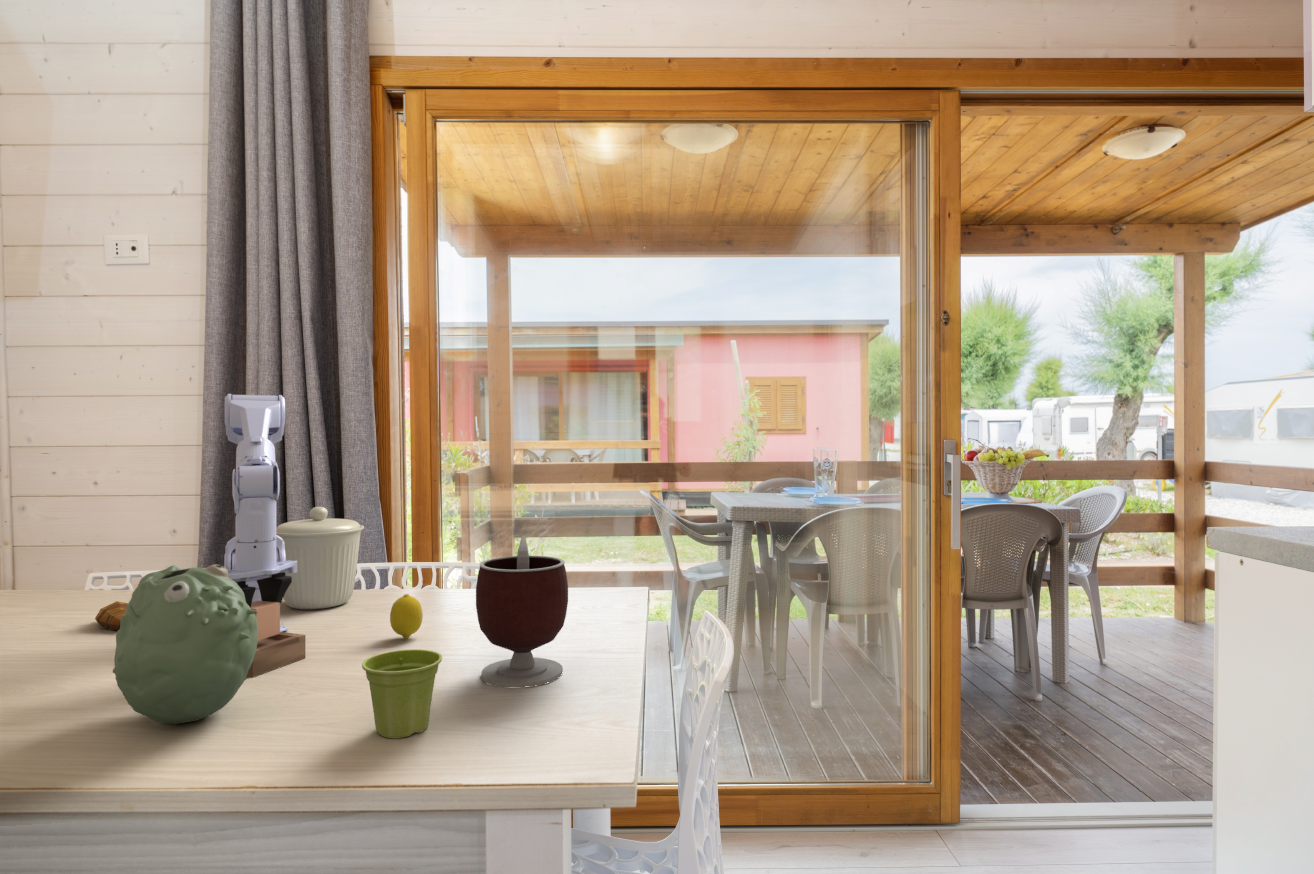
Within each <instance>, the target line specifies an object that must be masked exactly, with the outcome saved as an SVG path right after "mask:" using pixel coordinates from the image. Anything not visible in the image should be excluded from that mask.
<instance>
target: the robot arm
mask: <svg viewBox="0 0 1314 874" xmlns="http://www.w3.org/2000/svg"><path fill="white" fill-rule="evenodd" d="M285 424H286V399H285V397H284V396H283V395H282V394H278V395H263V394H262V395H259V394H258V395H257V394H232V393H227V395H226V396H224V426H225V435H226V436H227V441H229V442H230V443H232V444H233V443H234V444H235V445H237V446H236V450H235V451H236V452H235V456H236V457H235V468H233V470H232V485H231V486H232V490H231V491H232V493H231V495H232V499H233V502H234V514H236V515H235V535H234V536H233V537H232V538H231V539H229V540H228V541H227V543H226V545H225V546H224V547H225V550H224V551H225V553H224V558H223V559H224V563H223V564H224V565H223V567H225V568H226V569H227V571H228V577H229V578H230V579H231V580H233V581H235V582H236V583H237V584H238V586H239V587H240V588H241V589H242V591H243V592H244V595H245V600H246V603H247V604H248V605H249V607H250V608H251V604H252V602H255V601H268V602H278V603H280V606H281V604H282V601H283V600H284V598H283V597H284V595H285V593H286V591H287V589H288V587H289V585H290V584H291V583H292V577H291V576H285V575H286V574H287V573H296V572H297V561H291V560H288V561H286V555H285V546H284V541H283V539H282V538H281V537H279V536H278V535H276V528H277V501H278V500H279V496H280V491H281V490H280V481H281V480H280V470H279V465H278V463H277V461H276V449H275V445H274V444H276V443H279V442H280V441H282V440H283V436H284V433H285V431H284V430H285ZM274 496H275V497H276V499H274V498H273V497H274ZM288 630H289V626H282V625H280V632H285V631H288Z"/></svg>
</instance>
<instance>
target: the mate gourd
mask: <svg viewBox="0 0 1314 874" xmlns="http://www.w3.org/2000/svg"><path fill="white" fill-rule="evenodd" d="M519 541H520V542H519V546H518V550H517V555H513V556H510V555H509V556H503V557H502V556H500V557H493V558H489V559H487V560H485V559H484V560H483V561H481V562H480V563H479V569H478V572H477V580H476V587H475V608H476V615H477V621H478V624H479V629H480V631H481V632H482V633H483V634H484V636H485V637H486V638H487V640H488V641H489V642H490V643H491V644H492V645H494V646H497V647H500V648H503V649H506V650H508V651H511V652H513V654H512V657H511V658H509V659H508V658H507V659H503V660H499V661H495V662H493V663H490V664H488V665H486V666H485V667H483V669H482V670H481V673H480V675H481V677H482V678H481V677H480V678H481V680H482V681H483V682H484V683H485V684H487V683H488V684H487V685H491V686H493V687H498V688H504V687H525V686H534V687H536V686H535V685H539V686H541V685H540V684H544V685H546V684H545V683H547V682H550V683H552V682H551V681H553V680H555V681H557V680H558V679H559V678H558V677H560V676H561V677H562V675H563V673H562V672H564V669H563V665H562V664H561V663H560V662H558V661H556V660H553V659H547V658H543V657H534V655H533V653H532V651H534V650H535V649H537V648H539V647H542V646H544V645H547V644H549V643H551V642H553V641H554V640H555V639H556V638H557V635H558V634H559V633H560V632H561V630H562V628H563V627H564V625H565V621H566V617H567V610H568V605H569V584H568V575H567V569H566V567H565V560H564V559H563V558H560V557H554V556H547V555H529V549H528V548H529V546H528V543H527V537H526V536H525V535H522V536H521V537H520V540H519ZM561 674H562V675H561ZM561 677H560V678H561ZM557 678H558V679H557ZM556 679H557V680H556ZM553 682H554V681H553ZM547 684H548V683H547ZM525 688H526V687H525Z"/></svg>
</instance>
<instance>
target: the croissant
mask: <svg viewBox="0 0 1314 874" xmlns="http://www.w3.org/2000/svg"><path fill="white" fill-rule="evenodd" d="M128 603H129V602H123V601H116V600H115V601H114V602H112V603H110V604H107V605H106V606H103V607H102V608H100V610H98V613H97V615H96V616H95V618H94V619H95V621H96V622H97V624H98V625H99V626H100V627H101V628H102V629H107V630H111V631H115V632H117V631H118V630H120V622H121V618H122V617H123V616H124V615H125V612H126V608H127V605H128Z"/></svg>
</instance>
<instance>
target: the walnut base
mask: <svg viewBox="0 0 1314 874" xmlns="http://www.w3.org/2000/svg"><path fill="white" fill-rule="evenodd" d="M305 659H306V634H303V633H302V634H299V633H292V632H285V631H283V632H280V634H277V635H274V636H271V637H268V638H265V639H262V640H258V642H257V649H256V653H255V656H254V659H253V662H252V664H251V666H250V668H249V670H248V673H247V676H246V677H249V678H254V677H258V676H260V675H263V674H265V673H268V672H272V671H274V670H277V669H279V667H280V668H282V667H285V666H287V664H288V665H290V664H292V662H293V663H296V662H298V660H299V661H301V660H305ZM295 661H296V662H295Z"/></svg>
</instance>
